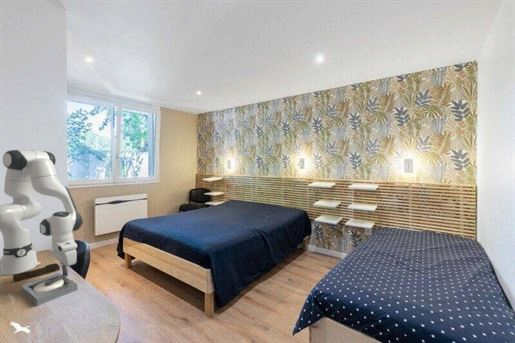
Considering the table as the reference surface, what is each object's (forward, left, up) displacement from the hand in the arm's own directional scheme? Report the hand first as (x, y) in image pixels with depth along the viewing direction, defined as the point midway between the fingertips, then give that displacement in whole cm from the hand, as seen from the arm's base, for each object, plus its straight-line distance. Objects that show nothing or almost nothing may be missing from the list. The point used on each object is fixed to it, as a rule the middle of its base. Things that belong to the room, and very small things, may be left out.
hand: (64, 269), depth 127 cm
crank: (+4, -6, -5) cm, 9 cm away
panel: (+5, -8, -6) cm, 11 cm away
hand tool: (-21, -5, -7) cm, 23 cm away
